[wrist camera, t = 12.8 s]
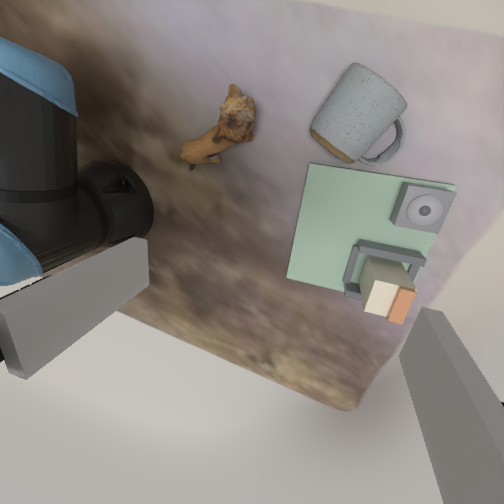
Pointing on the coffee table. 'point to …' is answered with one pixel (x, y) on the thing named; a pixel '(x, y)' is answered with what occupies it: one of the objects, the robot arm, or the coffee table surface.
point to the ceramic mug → (360, 116)
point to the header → (381, 251)
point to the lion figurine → (223, 130)
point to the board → (348, 222)
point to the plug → (386, 288)
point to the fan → (421, 207)
